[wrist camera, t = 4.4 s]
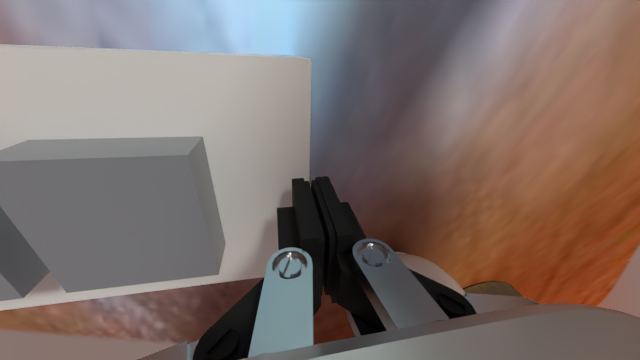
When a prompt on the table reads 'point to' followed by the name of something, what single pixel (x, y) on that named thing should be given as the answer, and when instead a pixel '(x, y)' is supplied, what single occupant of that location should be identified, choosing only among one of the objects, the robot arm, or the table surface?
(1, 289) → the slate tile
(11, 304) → the white rectangular block
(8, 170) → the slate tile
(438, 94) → the table surface
